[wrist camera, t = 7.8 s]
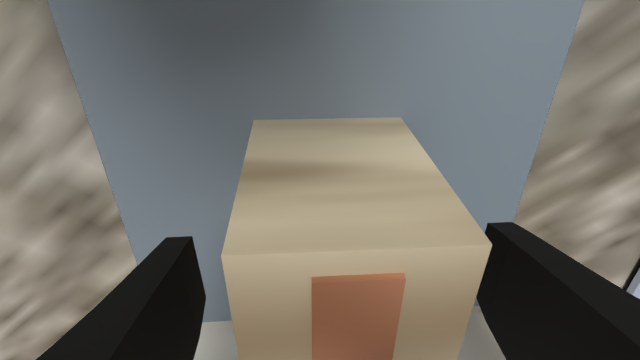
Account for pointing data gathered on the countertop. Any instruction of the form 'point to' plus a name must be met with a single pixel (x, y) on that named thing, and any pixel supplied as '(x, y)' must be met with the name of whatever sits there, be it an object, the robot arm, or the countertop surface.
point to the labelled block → (348, 246)
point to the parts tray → (474, 356)
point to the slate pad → (304, 96)
